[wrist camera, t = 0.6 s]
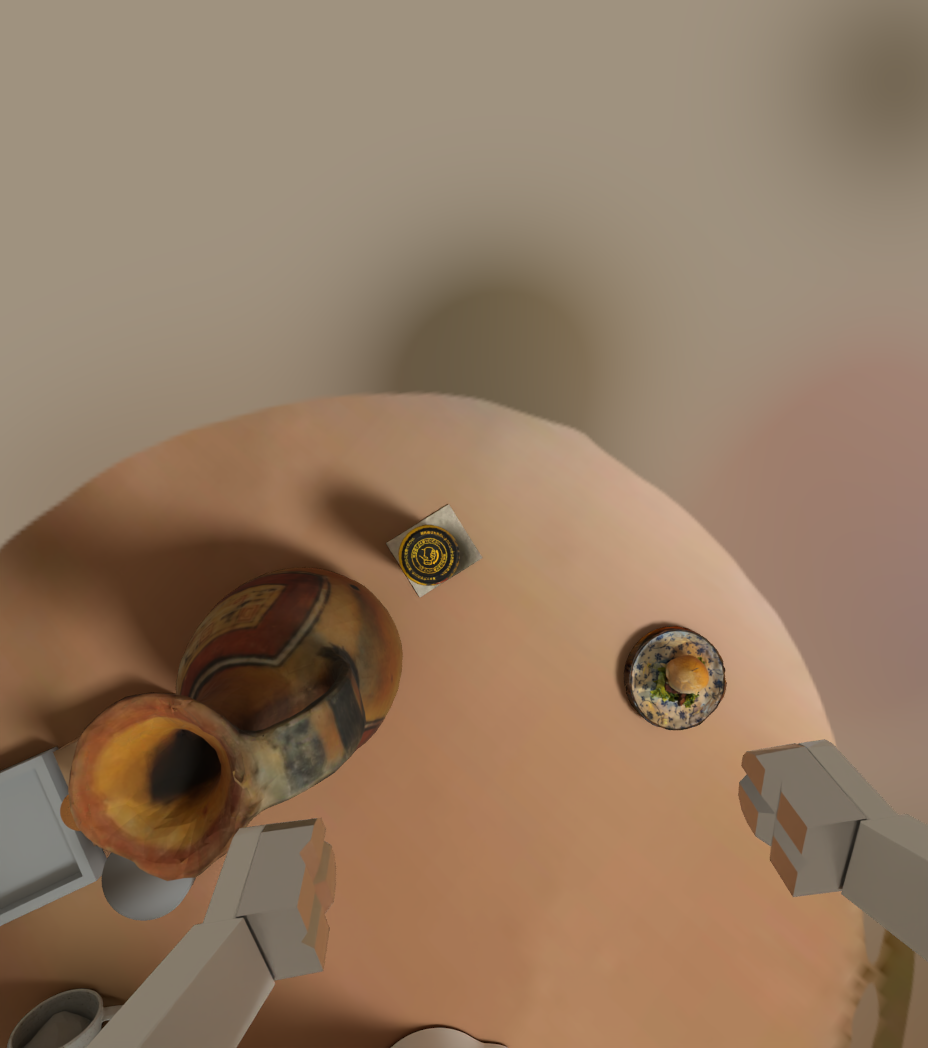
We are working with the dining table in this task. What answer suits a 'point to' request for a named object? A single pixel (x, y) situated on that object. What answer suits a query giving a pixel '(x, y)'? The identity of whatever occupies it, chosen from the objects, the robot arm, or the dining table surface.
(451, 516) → the condiment
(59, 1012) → the ceramic mug
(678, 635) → the burger
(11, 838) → the tray
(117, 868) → the block
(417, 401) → the dining table surface
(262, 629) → the ceramic pitcher
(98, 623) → the dining table surface
